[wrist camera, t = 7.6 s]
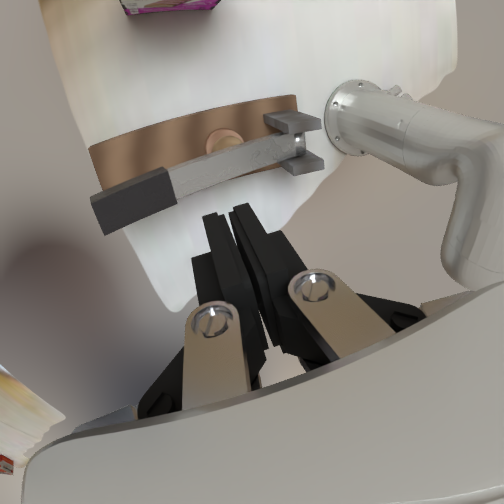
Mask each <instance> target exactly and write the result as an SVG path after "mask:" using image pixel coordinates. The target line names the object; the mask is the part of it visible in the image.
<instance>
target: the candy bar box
mask: <svg viewBox="0 0 504 504" xmlns="http://www.w3.org/2000/svg"><path fill="white" fill-rule="evenodd" d="M119 1H120V3H121V5H122V7H123V9H124V11H125V13H126V15H133V14H141V13H150V12H159V11H173V10H212V9H213V8H214V7H215V6H216V5H217V4H218V3H219V2H220V1H221V0H119Z"/></svg>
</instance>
